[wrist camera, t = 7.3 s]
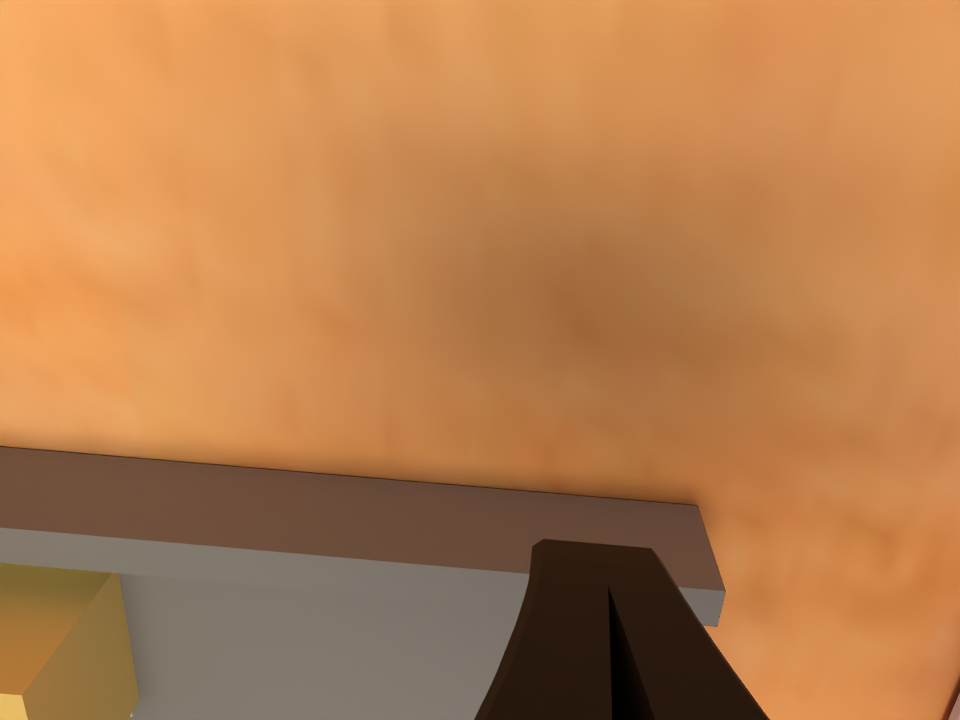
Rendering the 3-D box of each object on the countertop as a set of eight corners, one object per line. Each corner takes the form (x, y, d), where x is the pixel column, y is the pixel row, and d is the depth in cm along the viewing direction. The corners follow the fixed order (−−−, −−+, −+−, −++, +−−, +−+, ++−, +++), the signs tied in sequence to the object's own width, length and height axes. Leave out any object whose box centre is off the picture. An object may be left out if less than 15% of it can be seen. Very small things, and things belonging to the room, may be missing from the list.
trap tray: (697, 505, 20) (725, 591, 17) (623, 862, 26) (634, 971, 23) (-72, 440, 21) (-172, 512, 18) (23, 803, 26) (-40, 902, 24)
